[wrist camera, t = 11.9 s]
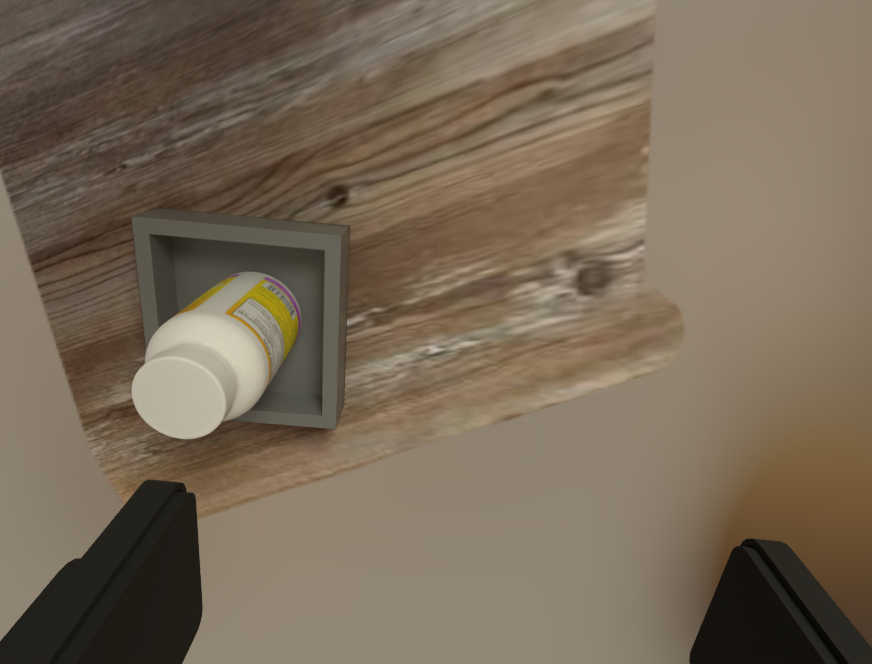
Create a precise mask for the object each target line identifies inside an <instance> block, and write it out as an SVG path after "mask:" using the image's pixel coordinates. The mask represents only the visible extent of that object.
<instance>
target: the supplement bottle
mask: <svg viewBox="0 0 872 664" xmlns="http://www.w3.org/2000/svg"><path fill="white" fill-rule="evenodd" d="M301 323H302V320H301V311H300V307H299V304H298V302H297V300H296V298H295V296H294V295H293V293H292V292H291V291H290V290H289V289H288V288H287V287H286V286H285V285H284V284H283V283H282V282H280V281H279V280H277V279H276V278H274V277H272V276H269V275H267V274H264V273H260V272H240V273H236V274H233V275H231V276H229V277H227V278H225V279H223V280H222V281H220V282H219V283H218V284H216V285H215V286H214V287H212V288H211V289H209V290H208V291H207V292H206V293H204V294H203V295H202V296H200V297H199V298H198V299H196V300H195V301H194V302H192V303H191V304H190V305H188V306H187V307H186V308H184V309H183V310H182V311H180V312H179V313H177V314H176V315H175V316H173V317H172V318H170V319H169V320H168V321H167V322H165V323H164V324H163V325H162V326H161V327H160V328H159V329H158V330H157V331H156V332H155V333H154V335H153V336H152V338H151V340H150V342H149V344H148V347H147V350H146V354H145V364H144V365H143V366H142V367H141V368H140V369H139V371H138V372H137V373H136V375H135V377H134V380H133V383H132V399H133V402H134V405H135V407H136V409H137V411H138V413H139V415H140V416H141V417H142V418H143V420H144V421H145V422H146V423H147V424H148V425H150V426H151V427H152V428H154V429H155V430H157V431H158V432H160V433H162V434H165V435H167V436H170V437H174V438H179V439H195V438H199V437H203V436H205V435H207V434H209V433H211V432H212V431H214V430H215V429H216V428H217V427H218V426H219V425H220V424H221V422H223V421H227V420H231V419H234V418H236V417H239V416H241V415H242V414H244V413H246V412H247V411H248V410H250V409H251V408H252V407H253V406H254V405H255V404H256V403H257V402H258V400H259V399H260V397H261V396H262V394H263V393H264V391H265V390H266V388H267V386H268V385H269V383H270V382H271V380H272V378H273V377H274V375H275V374H276V372H277V371H278V369H279V367H280V366H281V364H282V363H283V361H284V360H285V358H286V356H287V355H288V353H289V352H290V350H291V348H292V347H293V345H294V344H295V342H296V340H297V338H298V336H299V333H300V330H301Z"/></svg>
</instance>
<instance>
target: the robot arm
mask: <svg viewBox="0 0 872 664" xmlns="http://www.w3.org/2000/svg"><path fill="white" fill-rule="evenodd" d="M201 617H202V592H201V575H200V559H199V544H198V528H197V511H196V498H195V495H194V493H189V492H186V487H185V485H184V484H183V483H179V482H169V481H158V480H147V481H145V482H144V483H142V484H141V485H140V487H139V488H138V489H137V490H136V492H135V493H134V494H133V495H132V497H131V498H130V499H129V500H128V501H127V503H126V504H125V505H124V506H123V508H122V509H121V510H120V511H119V513H118V514H117V515H116V516H115V517H114V519H113V520H112V521H111V522H110V524H109V525H108V526H107V527H106V529H105V530H104V531H103V532H102V533H101V535H100V536H99V537H98V538H97V540H96V541H95V542H94V543H93V544H92V546H91V547H90V548H89V549H88V551H87V552H86V553H85V554H84V556H83V557H82V558H81V559H74V560H72V561H70V562H69V563H67V564H66V565H65V566H64V567H63V568H62V569H61V570H60V571H59V572H58V573H57V575H56V576H55V577H54V578H53V579H52V580H51V582H50V583H49V584H48V585H47V586H46V588H45V589H44V590H43V591H42V592H41V594H40V595H39V596H38V597H37V598H36V600H35V601H34V602H33V603H32V604H31V605H30V607H29V608H28V609H27V610H26V611H25V613H24V614H23V615H22V616H21V617H20V619H19V620H18V621H17V622H16V623H15V625H14V626H13V627H12V628H11V629H10V631H9V632H8V633H7V634H6V635H5V636H4V638H3V639H2V640H1V641H0V664H182V662H183V661H184V658H185V656H186V654H187V652H188V650H189V648H190V646H191V644H192V642H193V639H194V637H195V635H196V633H197V631H198V628H199V625H200V621H201ZM690 664H872V648H871V646H870V645H869V644H868V643H867V642H866V640H865V639H864V638H863V637H862V635H861V634H860V633H859V632H858V631H857V629H856V628H855V627H854V626H853V624H852V623H851V622H850V621H849V619H848V618H847V617H846V616H845V614H844V613H843V612H842V611H841V610H840V608H839V607H838V606H837V605H836V603H835V602H834V601H833V600H832V598H831V597H830V596H829V595H828V594H827V592H826V591H825V590H824V589H823V587H822V586H821V585H820V584H819V582H818V581H817V580H816V579H815V578H814V576H813V575H812V574H811V573H810V571H809V570H808V569H807V568H806V566H805V565H804V564H803V563H802V562H801V560H800V559H799V558H798V557H797V555H796V554H795V553H794V552H793V550H792V549H791V548H790V547H789V546H788V545H787V544H785V543H783V542H780V541H770V540H760V539H746V540H744V541H743V542H742V544H741V545H740V546H737V547H735V548H734V549H733V550H732V552H731V554H730V557H729V559H728V562H727V564H726V567H725V569H724V571H723V574H722V576H721V579H720V581H719V584H718V586H717V588H716V591H715V593H714V596H713V598H712V601H711V603H710V606H709V608H708V610H707V613H706V615H705V618H704V620H703V623H702V625H701V627H700V630H699V632H698V635H697V637H696V640H695V642H694V644H693V647H692V649H691V652H690Z"/></svg>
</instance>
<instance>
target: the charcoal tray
mask: <svg viewBox="0 0 872 664" xmlns="http://www.w3.org/2000/svg"><path fill="white" fill-rule="evenodd" d="M131 218H132V227H133V236H134V245H135V254H136V263H137V272H138V281H139V290H140V299H141V308H142V317H143V326H144V335H145V344H146V350H147V347H148V344H149V342H150V340H151V338H152V336H153V335H154V333H155V332H156V331H157V330H158V329H159V328H160V327H161V326H162V325H163V324H164V323H165V322H167V321H168V320H169V319H170V318H172V317H173V316H175V315H176V314H177V313H179V312H180V311H182V310H183V309H184V308H186V307H187V306H188V305H190V304H191V303H192V302H194V301H195V300H196V299H198V298H199V297H200V296H202V295H203V294H204V293H206V292H207V291H208V290H209V289H211V288H212V287H214V286H215V285H216V284H218V283H219V282H220V281H222V280H223V279H225V278H227V277H229V276H231V275H233V274H236V273H240V272H260V273H264V274H267V275H269V276H272V277H274V278H276V279H277V280H279V281H280V282H282V283H283V284H284V285H285V286H286V287H287V288H288V289H289V290H290V291H291V292H292V293H293V295H294V296H295V298H296V300H297V302H298V304H299V307H300V311H301V320H302V323H301V330H300V333H299V336H298V338H297V340H296V342H295V344H294V345H293V347H292V348H291V350H290V352H289V353H288V355H287V356H286V358H285V360H284V361H283V363H282V364H281V366H280V367H279V369H278V371H277V372H276V374H275V375H274V377H273V378H272V380H271V382H270V383H269V385H268V386H267V388H266V390H265V391H264V393H263V394H262V396H261V397H260V399H259V400H258V402H257V403H256V404H255V405H254V406H253V407H252V408H251V409H250V410H248V411H247V412H246V413H244V414H242V415H241V416H239V417H236V418H234V419H231V420H232V421H244V422H256V423H268V424H279V425H291V426H303V427H315V428H327V429H336V427H337V424H338V421H339V418H340V415H341V413H342V410H343V407H344V389H345V359H346V329H347V300H348V270H349V240H350V226H345V225H334V224H324V223H313V222H302V221H291V220H281V219H270V218H259V217H248V216H238V215H227V214H216V213H205V212H195V211H184V210H173V209H162V208H158V209H154V210H151V211H148V212H144V213H141V214H138V215H134V216H131Z"/></svg>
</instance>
